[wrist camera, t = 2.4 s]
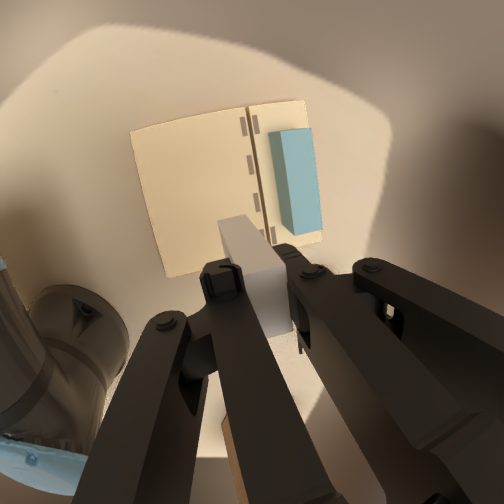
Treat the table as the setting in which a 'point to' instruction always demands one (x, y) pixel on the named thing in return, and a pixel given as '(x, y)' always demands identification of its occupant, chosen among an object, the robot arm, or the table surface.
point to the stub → (286, 172)
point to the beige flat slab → (196, 184)
